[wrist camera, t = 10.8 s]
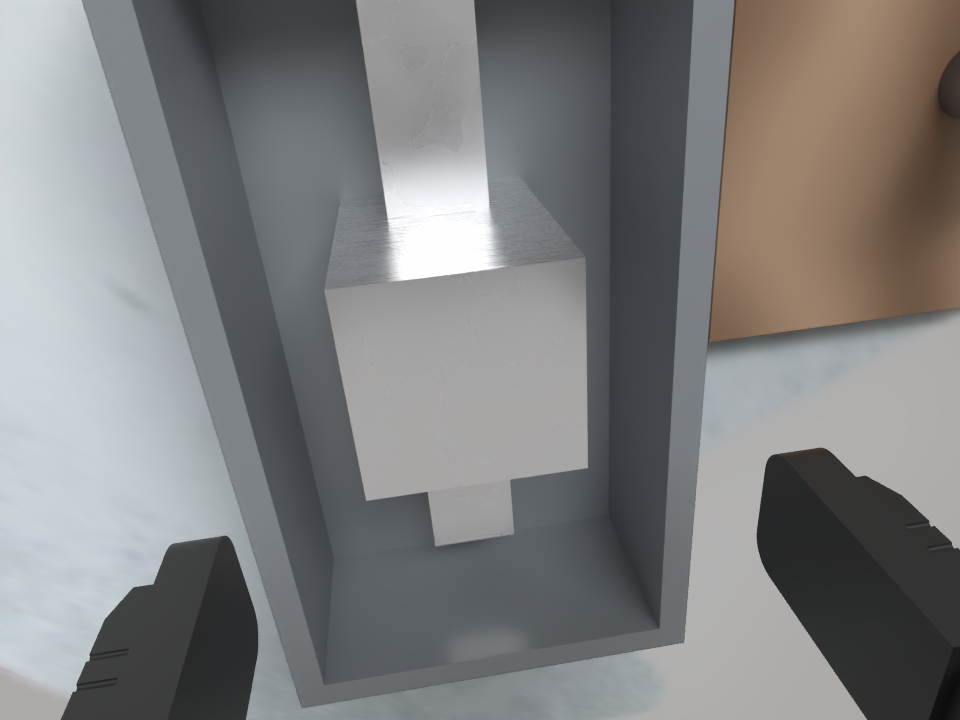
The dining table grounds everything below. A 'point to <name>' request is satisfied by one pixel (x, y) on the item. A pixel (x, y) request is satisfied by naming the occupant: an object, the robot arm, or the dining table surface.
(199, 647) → the robot arm
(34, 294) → the dining table surface
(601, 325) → the bin
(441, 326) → the strut
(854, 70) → the stud base
